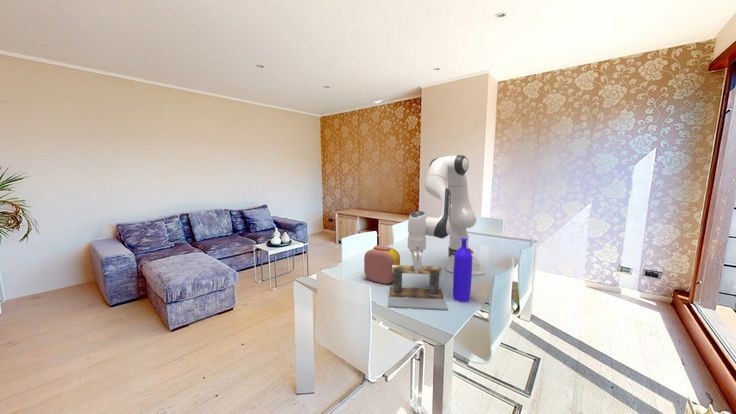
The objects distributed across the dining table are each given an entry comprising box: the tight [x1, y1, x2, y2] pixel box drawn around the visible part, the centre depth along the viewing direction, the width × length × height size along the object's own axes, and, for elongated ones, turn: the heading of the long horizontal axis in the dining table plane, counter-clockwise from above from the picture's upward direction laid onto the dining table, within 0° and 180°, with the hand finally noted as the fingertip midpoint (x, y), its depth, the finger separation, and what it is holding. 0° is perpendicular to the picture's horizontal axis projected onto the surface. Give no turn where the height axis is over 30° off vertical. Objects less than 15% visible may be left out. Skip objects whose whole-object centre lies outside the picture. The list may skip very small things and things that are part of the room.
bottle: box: [452, 238, 473, 303], centre depth 132 cm, size 8×8×30 cm
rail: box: [392, 264, 442, 276], centre depth 137 cm, size 24×3×3 cm, turn 84°
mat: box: [387, 297, 449, 311], centre depth 128 cm, size 27×8×1 cm, turn 84°
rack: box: [389, 266, 444, 300], centre depth 138 cm, size 26×8×14 cm, turn 84°
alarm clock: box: [363, 244, 401, 285], centre depth 155 cm, size 18×11×19 cm, turn 61°
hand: (416, 271), depth 137 cm, fingers open, 3 cm apart
